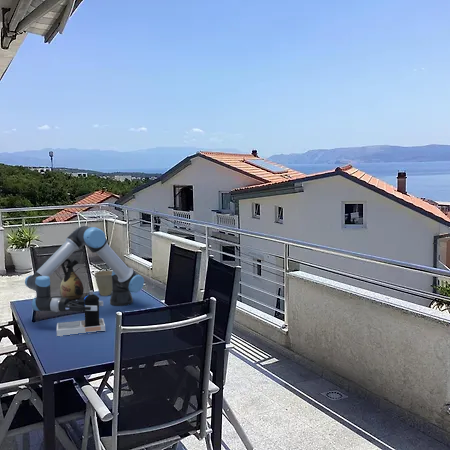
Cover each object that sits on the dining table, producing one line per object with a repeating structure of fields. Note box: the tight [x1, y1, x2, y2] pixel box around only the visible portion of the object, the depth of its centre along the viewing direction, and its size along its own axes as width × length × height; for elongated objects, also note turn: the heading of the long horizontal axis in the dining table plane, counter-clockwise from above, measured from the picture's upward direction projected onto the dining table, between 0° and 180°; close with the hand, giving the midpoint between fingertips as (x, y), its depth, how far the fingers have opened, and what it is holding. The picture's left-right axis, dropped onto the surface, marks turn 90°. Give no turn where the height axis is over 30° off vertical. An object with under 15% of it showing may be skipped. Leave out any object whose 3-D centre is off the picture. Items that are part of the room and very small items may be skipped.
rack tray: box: [56, 318, 106, 337], centre depth 251 cm, size 25×13×4 cm, turn 109°
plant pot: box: [94, 270, 112, 297], centre depth 325 cm, size 15×15×16 cm
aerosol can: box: [83, 290, 100, 327], centre depth 252 cm, size 8×8×20 cm
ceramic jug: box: [59, 258, 85, 302], centre depth 306 cm, size 17×15×30 cm
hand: (99, 305), depth 252 cm, fingers open, 8 cm apart
